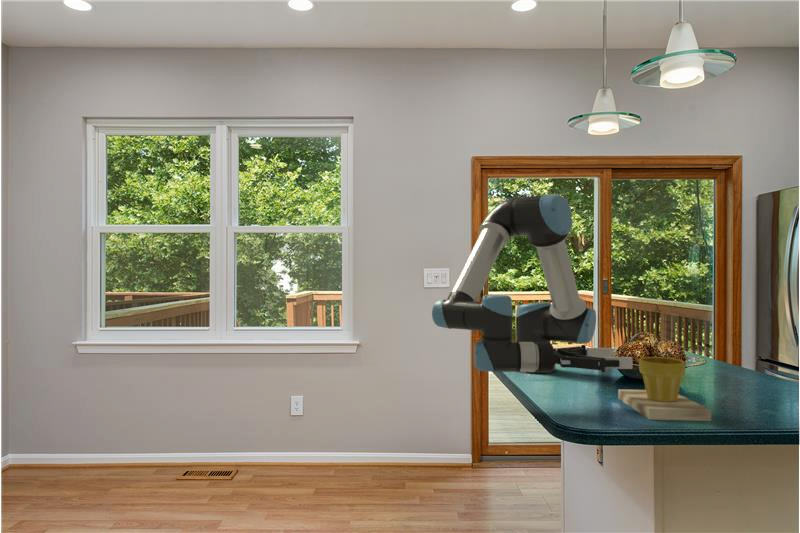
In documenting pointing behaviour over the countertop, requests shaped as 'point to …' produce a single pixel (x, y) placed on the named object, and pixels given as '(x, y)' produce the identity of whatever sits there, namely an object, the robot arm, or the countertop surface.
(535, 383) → the countertop surface
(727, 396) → the countertop surface
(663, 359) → the plant pot
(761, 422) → the countertop surface
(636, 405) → the birch stand
